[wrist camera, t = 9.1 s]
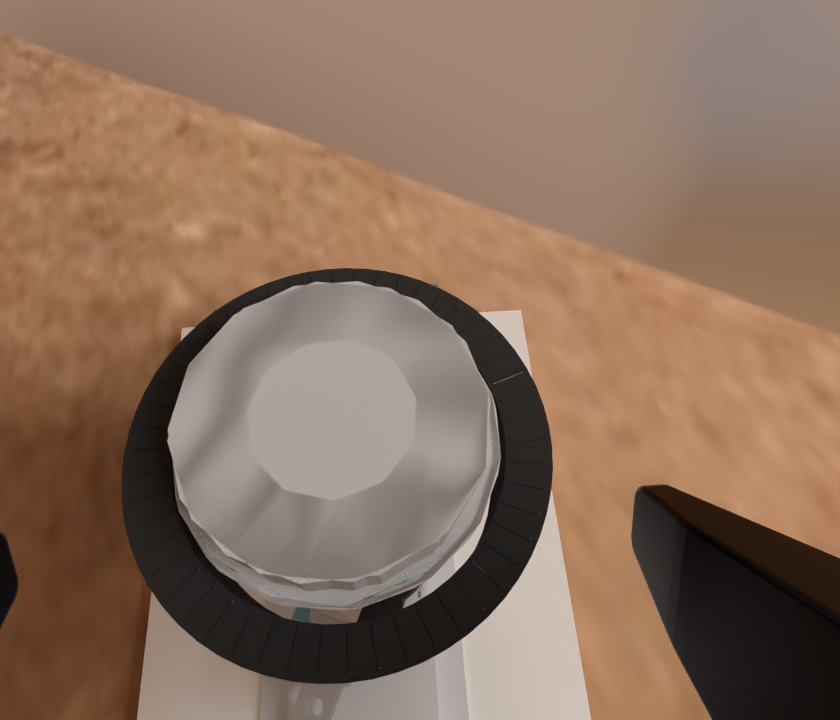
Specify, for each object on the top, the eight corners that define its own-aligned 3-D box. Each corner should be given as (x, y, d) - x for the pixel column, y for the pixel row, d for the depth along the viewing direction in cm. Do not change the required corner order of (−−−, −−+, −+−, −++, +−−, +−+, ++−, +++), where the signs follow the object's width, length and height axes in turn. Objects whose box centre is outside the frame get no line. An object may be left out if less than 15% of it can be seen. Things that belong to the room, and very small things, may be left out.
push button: (418, 771, 14) (444, 982, 5) (205, 681, 14) (-127, 714, 5) (500, 494, 16) (616, 295, 7) (320, 430, 17) (228, 179, 8)
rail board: (616, 933, 14) (698, 1038, 10) (123, 986, 13) (8, 1119, 9) (515, 325, 21) (540, 249, 17) (192, 342, 20) (142, 267, 16)
